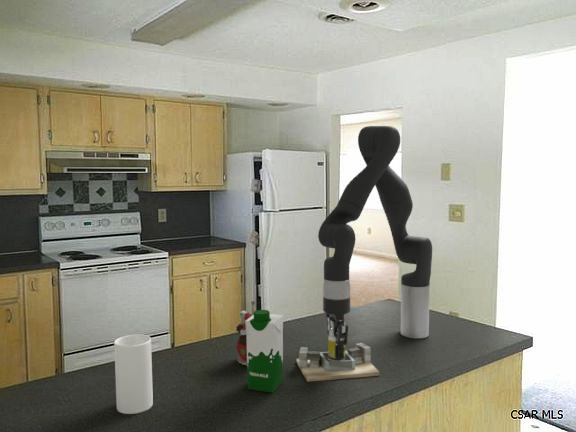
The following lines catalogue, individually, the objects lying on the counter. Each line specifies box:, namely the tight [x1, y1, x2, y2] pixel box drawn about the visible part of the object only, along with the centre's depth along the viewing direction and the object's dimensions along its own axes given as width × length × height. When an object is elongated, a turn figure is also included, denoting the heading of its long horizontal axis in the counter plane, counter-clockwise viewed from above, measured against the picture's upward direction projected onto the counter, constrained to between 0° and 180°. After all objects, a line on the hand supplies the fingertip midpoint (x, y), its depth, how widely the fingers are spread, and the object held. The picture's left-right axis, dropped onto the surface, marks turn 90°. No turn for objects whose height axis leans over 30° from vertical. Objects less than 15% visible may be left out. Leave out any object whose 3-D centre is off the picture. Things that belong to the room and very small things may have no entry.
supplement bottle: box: [327, 329, 346, 361], centre depth 140 cm, size 5×5×8 cm
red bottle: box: [236, 300, 256, 366], centre depth 146 cm, size 11×9×18 cm
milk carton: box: [244, 309, 284, 394], centre depth 129 cm, size 9×9×20 cm
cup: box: [113, 334, 154, 415], centre depth 118 cm, size 8×8×16 cm
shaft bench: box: [295, 342, 380, 382], centre depth 140 cm, size 14×21×5 cm
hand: (336, 354), depth 140 cm, fingers closed on supplement bottle, 4 cm apart
